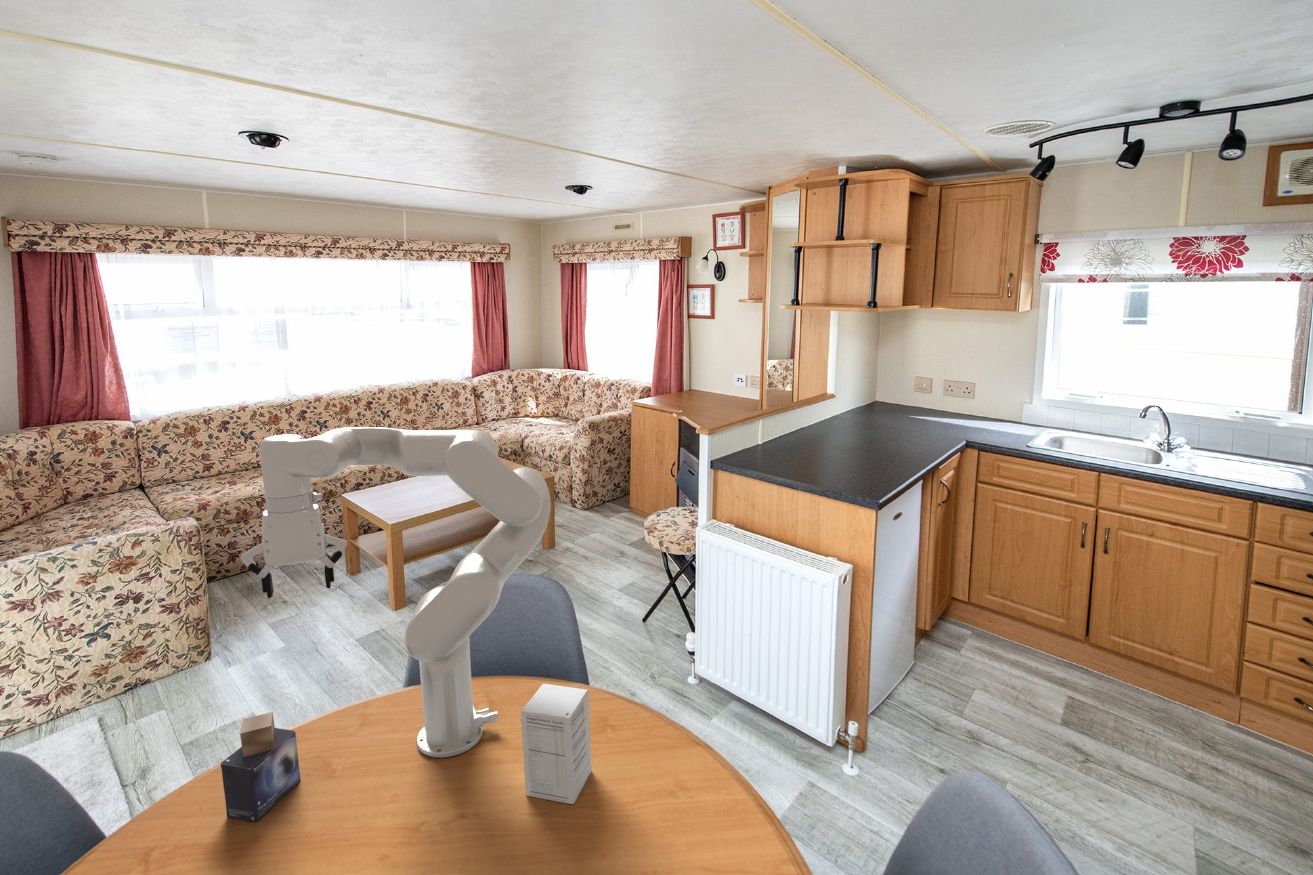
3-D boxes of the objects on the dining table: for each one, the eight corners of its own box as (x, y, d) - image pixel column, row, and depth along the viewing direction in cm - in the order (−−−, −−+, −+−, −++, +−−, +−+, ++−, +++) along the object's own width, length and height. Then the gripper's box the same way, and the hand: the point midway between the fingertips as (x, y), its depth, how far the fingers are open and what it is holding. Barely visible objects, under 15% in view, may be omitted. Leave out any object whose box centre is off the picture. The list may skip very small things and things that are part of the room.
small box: (258, 824, 109) (250, 768, 107) (225, 818, 110) (217, 763, 108) (303, 780, 119) (297, 729, 117) (272, 775, 121) (266, 725, 119)
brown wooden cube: (275, 734, 116) (272, 711, 115) (273, 749, 112) (270, 725, 111) (246, 741, 114) (242, 718, 113) (243, 757, 110) (240, 733, 109)
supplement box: (593, 770, 121) (590, 688, 118) (574, 806, 113) (571, 718, 110) (545, 761, 124) (542, 681, 121) (524, 795, 115) (519, 710, 112)
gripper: (342, 491, 126) (350, 575, 129) (237, 503, 118) (248, 591, 121) (342, 501, 119) (351, 589, 122) (231, 514, 112) (243, 607, 115)
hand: (300, 590), depth 122 cm, fingers open, 9 cm apart
